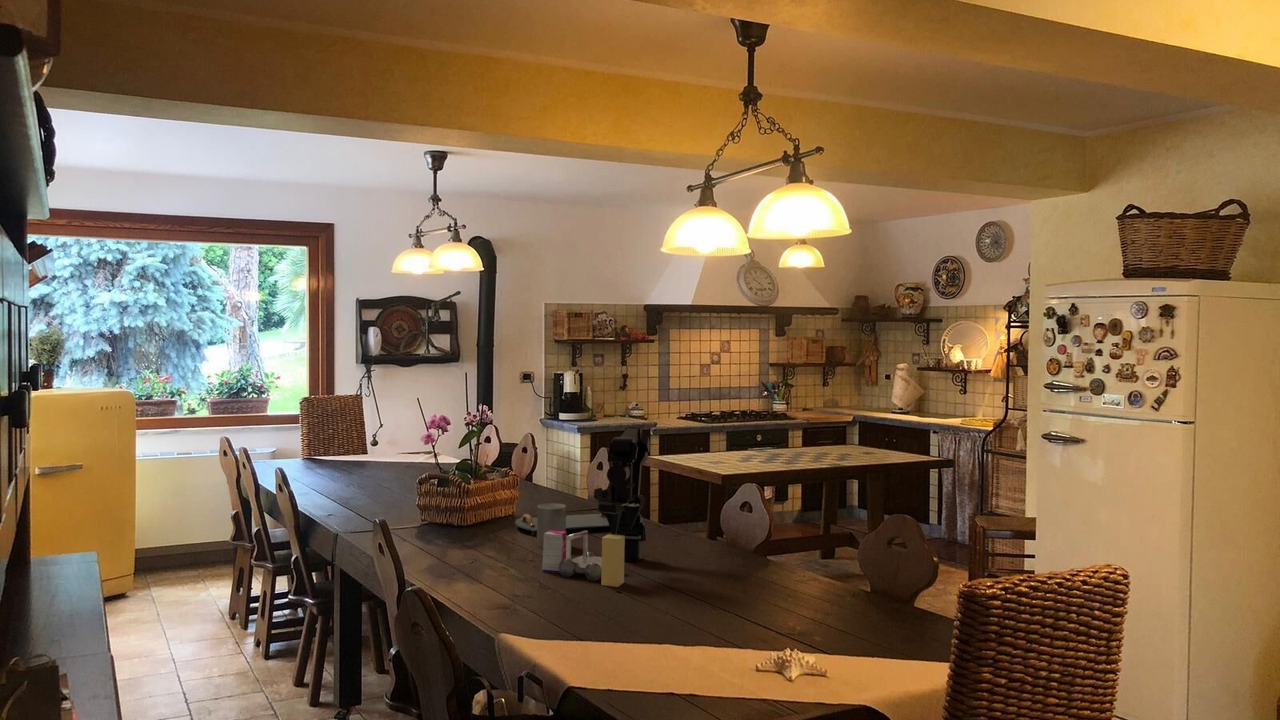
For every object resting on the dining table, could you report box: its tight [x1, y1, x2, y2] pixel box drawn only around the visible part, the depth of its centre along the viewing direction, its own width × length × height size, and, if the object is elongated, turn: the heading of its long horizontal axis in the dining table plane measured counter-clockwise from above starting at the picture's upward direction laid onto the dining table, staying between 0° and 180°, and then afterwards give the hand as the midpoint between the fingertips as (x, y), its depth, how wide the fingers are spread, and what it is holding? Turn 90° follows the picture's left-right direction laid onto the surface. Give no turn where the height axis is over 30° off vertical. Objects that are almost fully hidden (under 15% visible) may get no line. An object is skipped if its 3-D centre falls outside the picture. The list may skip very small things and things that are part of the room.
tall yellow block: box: [600, 533, 625, 588], centre depth 272 cm, size 5×5×14 cm
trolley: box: [559, 529, 602, 582], centre depth 283 cm, size 13×14×12 cm
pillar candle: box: [536, 502, 567, 550], centre depth 320 cm, size 10×10×15 cm
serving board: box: [514, 513, 610, 537], centre depth 352 cm, size 39×23×6 cm, turn 113°
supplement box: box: [542, 530, 568, 574], centre depth 287 cm, size 6×6×12 cm
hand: (621, 532), depth 286 cm, fingers open, 9 cm apart
